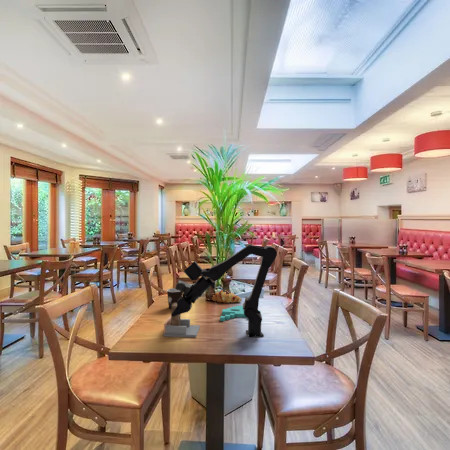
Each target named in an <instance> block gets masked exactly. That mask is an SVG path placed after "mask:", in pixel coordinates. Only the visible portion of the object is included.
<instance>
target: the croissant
mask: <svg viewBox="0 0 450 450" xmlns="http://www.w3.org/2000/svg"><path fill="white" fill-rule="evenodd" d="M223 290H224V289H223ZM223 290H222V289H221V290H220V291H217V292H215V293H214V294H215V295H213V297H212V299H211V300H212V301H214V302H216V301H217V302H216V303H222V302H223V303H224V304H229V303H230V302H231V303H240V302H242V300H243V299H242V298H241V297H240V296H239V295H236V294H235V293H234V292H228V293H229V294H226V292H223Z"/></svg>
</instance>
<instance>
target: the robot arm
mask: <svg viewBox="0 0 450 450" xmlns="http://www.w3.org/2000/svg"><path fill="white" fill-rule="evenodd" d="M277 254H278V252H277V250H276V249H275V248H274V247H273V246H271V245H265V246H261V245H260V246H259V245H254V244H251V243H249V244H247V245H245V247H242V248H241V249H240V250H239V251H237V252H236V253H234V254H232V255H231V256H230V257H228V258H227V259H226V260H224V261H221V262H218V263H215V264H214V265H212V266H210V267H209V268H207V267H206V268H202V267H201V266H200V265H199V264H198V262H196V260H195V261H194V260H193V262H192V263H191V264H190V265H188V266H187V267H186V268H185V269H184V270H183V273H184V274H185V275H186V276H187V277H188V278H189V279H190V280H191V281H195V283H192V284H189V283H187V282H185V281H183V280H181V279H179V280H178V281H177V284H176V285H175V287H174V288H175V289H177V290H180V291H182V294H183V295H182V297H181V298H180V299H179V300H178V301H177V307H176V309H175V310H174V311H173V313H172V314H171V313H170V314H171V315H170V316H172V317H173V316H176V315H179V314H181V315H182V314H185V313H189V312H190V310H191V309H192V307H193V304H195V302H196V301H197V300H198V299H199V298H202V296H203V294H204V293H206V291H208V290H209V288H210V287H211V288H212V289H213V290H215V289H216V282H217V281H218V280H220V279H221V278H222V277H223V276H224V275H225V274H226V272H228V271H229V270H230V269H232V268H233V267H234V266H235V265H237V264H238V263H241V261H243V260H244V259H246V258H247V257H249V256H250V255H253V256H257V257H261V258H260V265H259V267H258V268H259V269H258V271H257V274H256V277H255V279H254V280H255V281H254V283H253V286H252V289H251V293H250V295H249V296H245V298H244V302H243V303H242V306H243V309H244V315H245V316H246V317H247V318H248V319H247V329H246V330H245V333H246V334H247V336H248V337H249V338H258V337H259V338H260V337H264V336H265V335H264V333H263V332H262V322H263V316H262V313H261V312H262V311H261V310H259V305H260V304H259V302H260V297H261V294H262V291H263V288H264V285H265V282H266V278H267V276H268V273H269V269H270V267H271V266H272V265H273V263H274V261H275V260H276V258H277ZM260 311H261V312H260Z"/></svg>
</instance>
